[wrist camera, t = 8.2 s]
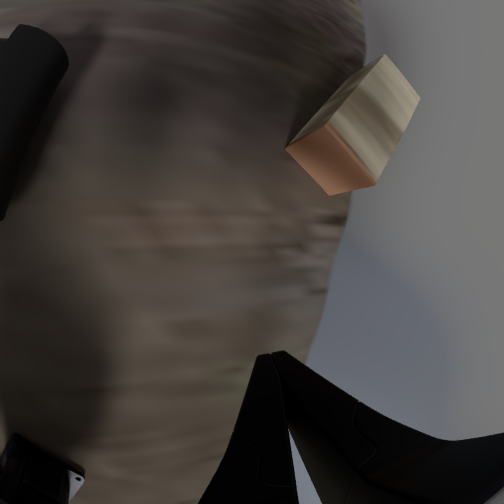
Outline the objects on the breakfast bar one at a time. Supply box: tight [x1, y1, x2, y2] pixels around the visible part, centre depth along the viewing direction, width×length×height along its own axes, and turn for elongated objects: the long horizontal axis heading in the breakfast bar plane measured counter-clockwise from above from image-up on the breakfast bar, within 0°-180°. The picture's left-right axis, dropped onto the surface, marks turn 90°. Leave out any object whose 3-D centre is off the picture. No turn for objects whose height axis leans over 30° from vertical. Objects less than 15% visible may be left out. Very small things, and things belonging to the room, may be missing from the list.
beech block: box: [285, 54, 420, 196], centre depth 20 cm, size 5×5×12 cm
